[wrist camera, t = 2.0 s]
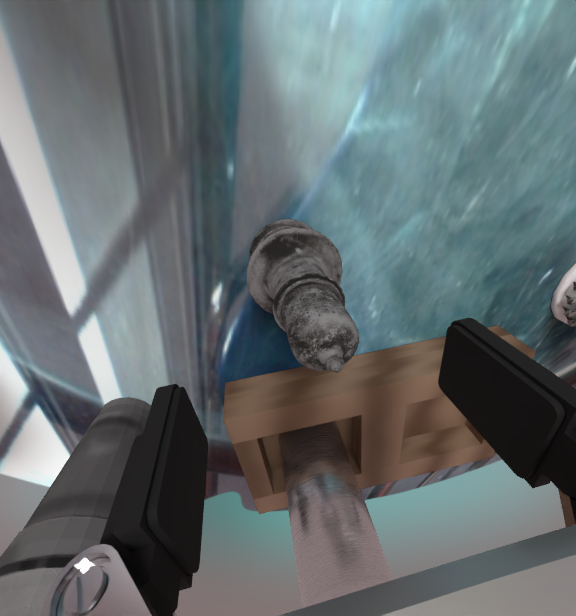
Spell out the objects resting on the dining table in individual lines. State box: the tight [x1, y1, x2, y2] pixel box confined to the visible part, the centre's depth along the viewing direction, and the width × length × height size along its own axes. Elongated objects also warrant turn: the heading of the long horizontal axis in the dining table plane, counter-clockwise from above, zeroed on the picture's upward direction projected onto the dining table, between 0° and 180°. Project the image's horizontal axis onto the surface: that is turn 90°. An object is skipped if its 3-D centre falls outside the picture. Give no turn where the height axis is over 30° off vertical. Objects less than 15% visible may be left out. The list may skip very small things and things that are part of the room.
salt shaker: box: [247, 219, 359, 373], centre depth 15 cm, size 6×6×12 cm
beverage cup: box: [0, 398, 151, 616], centre depth 17 cm, size 7×7×20 cm
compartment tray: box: [223, 325, 536, 514], centre depth 28 cm, size 26×15×4 cm, turn 97°
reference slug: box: [278, 421, 393, 608], centre depth 23 cm, size 6×6×12 cm
